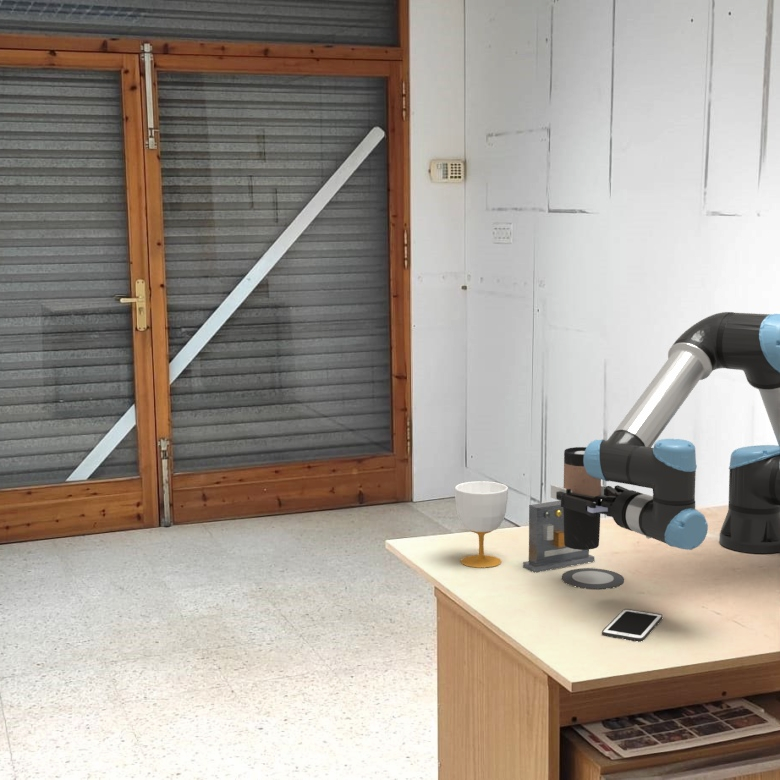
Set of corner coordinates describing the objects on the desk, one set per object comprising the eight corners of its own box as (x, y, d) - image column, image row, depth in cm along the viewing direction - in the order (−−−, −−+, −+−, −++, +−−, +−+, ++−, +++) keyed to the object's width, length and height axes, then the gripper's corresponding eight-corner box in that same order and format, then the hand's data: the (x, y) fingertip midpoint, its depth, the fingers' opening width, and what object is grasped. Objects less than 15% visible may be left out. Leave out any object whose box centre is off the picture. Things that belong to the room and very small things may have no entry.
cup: (516, 566, 247) (517, 490, 244) (467, 572, 243) (467, 495, 240) (493, 552, 258) (494, 479, 255) (446, 557, 254) (446, 483, 251)
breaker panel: (582, 556, 253) (583, 496, 251) (596, 562, 249) (597, 501, 247) (523, 567, 246) (523, 504, 244) (536, 573, 242) (537, 510, 240)
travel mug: (556, 542, 236) (556, 449, 233) (587, 537, 239) (588, 445, 236) (575, 552, 229) (576, 456, 226) (607, 547, 232) (608, 452, 229)
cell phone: (600, 637, 205) (600, 632, 205) (624, 612, 218) (624, 607, 218) (641, 644, 202) (642, 639, 202) (664, 619, 214) (664, 614, 214)
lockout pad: (633, 576, 239) (633, 573, 239) (610, 593, 228) (610, 590, 228) (576, 566, 246) (576, 564, 246) (551, 582, 235) (551, 580, 235)
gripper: (596, 539, 212) (527, 512, 233) (679, 524, 222) (606, 499, 242) (596, 500, 211) (527, 476, 231) (680, 487, 220) (606, 465, 241)
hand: (568, 488), depth 236 cm, fingers closed on travel mug, 7 cm apart
